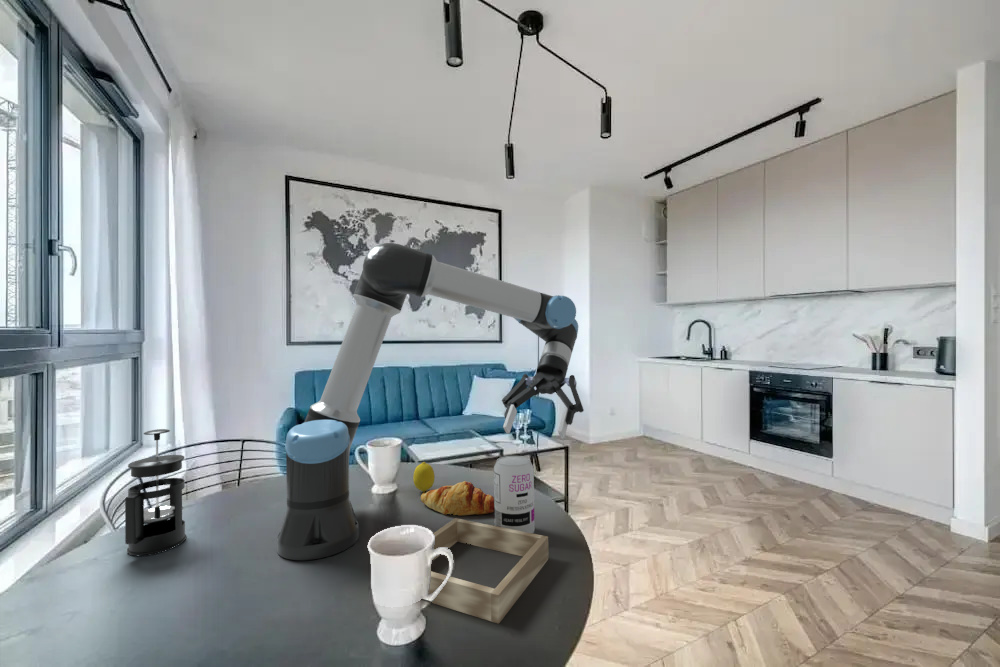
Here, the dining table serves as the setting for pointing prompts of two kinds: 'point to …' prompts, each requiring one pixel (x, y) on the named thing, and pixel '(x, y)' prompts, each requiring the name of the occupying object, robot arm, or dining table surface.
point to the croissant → (459, 500)
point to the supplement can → (514, 493)
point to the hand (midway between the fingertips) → (532, 432)
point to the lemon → (423, 477)
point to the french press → (159, 521)
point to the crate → (503, 597)
